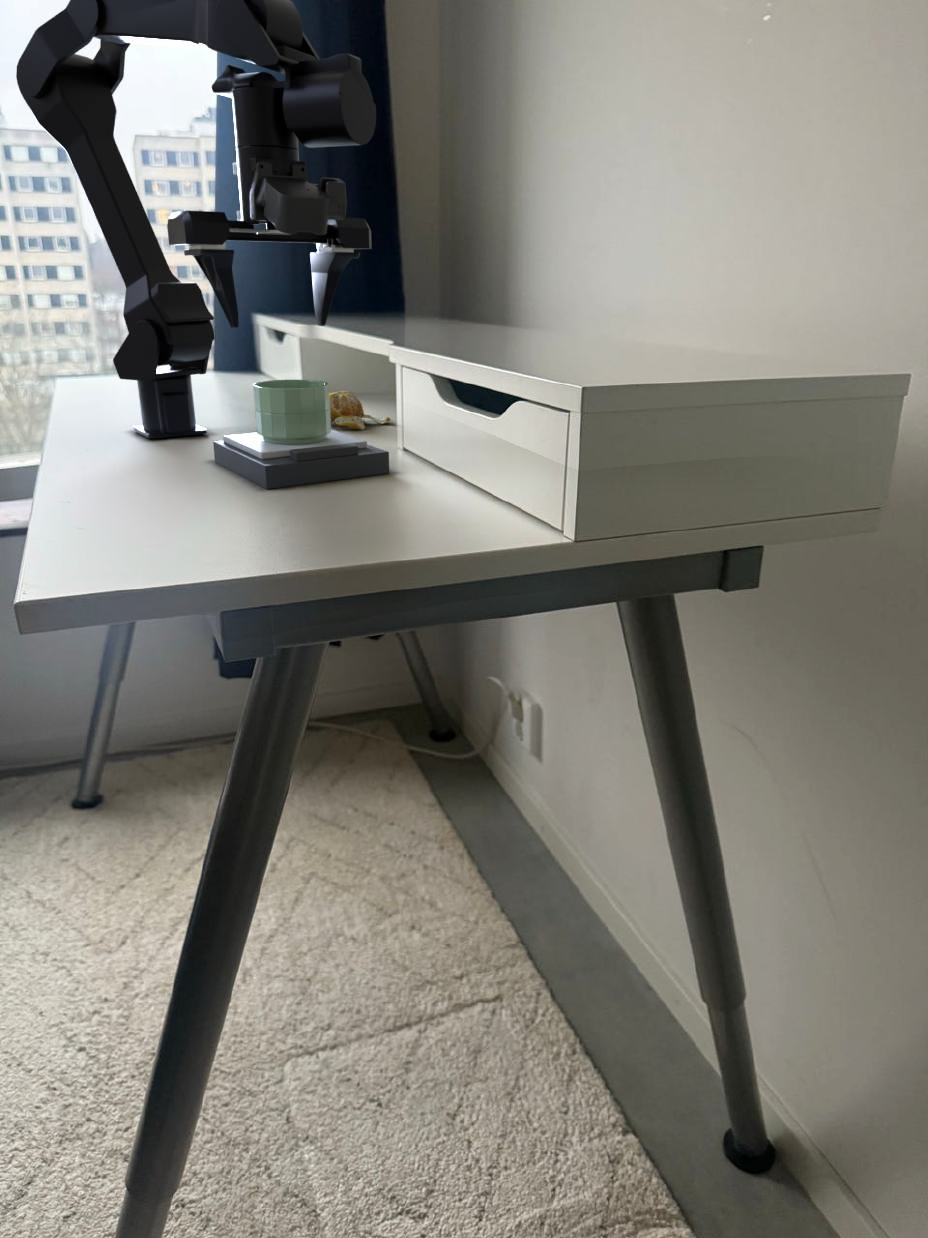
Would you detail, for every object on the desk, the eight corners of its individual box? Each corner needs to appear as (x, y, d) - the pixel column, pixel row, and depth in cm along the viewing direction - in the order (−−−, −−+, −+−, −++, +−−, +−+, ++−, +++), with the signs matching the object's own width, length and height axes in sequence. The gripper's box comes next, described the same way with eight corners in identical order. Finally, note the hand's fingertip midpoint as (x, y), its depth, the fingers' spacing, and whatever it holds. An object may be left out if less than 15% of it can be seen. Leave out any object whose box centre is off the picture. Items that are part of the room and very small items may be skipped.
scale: (214, 462, 83) (211, 432, 82) (327, 449, 89) (326, 422, 88) (266, 489, 73) (264, 456, 72) (389, 473, 79) (389, 442, 78)
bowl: (246, 436, 82) (242, 381, 80) (312, 429, 85) (309, 377, 83) (274, 448, 77) (270, 390, 75) (343, 440, 80) (341, 385, 78)
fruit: (350, 431, 99) (349, 399, 98) (298, 424, 103) (296, 392, 102) (395, 422, 105) (395, 391, 104) (344, 415, 110) (343, 386, 108)
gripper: (196, 130, 69) (215, 334, 75) (398, 149, 79) (400, 329, 85) (156, 144, 77) (176, 327, 83) (342, 160, 87) (348, 322, 93)
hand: (279, 326), depth 86 cm, fingers open, 9 cm apart
